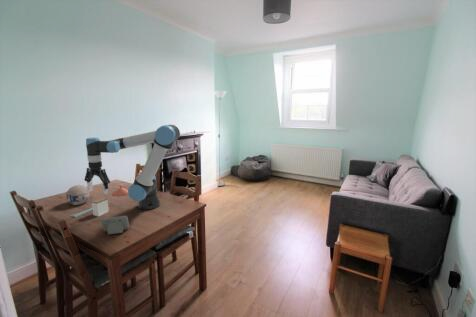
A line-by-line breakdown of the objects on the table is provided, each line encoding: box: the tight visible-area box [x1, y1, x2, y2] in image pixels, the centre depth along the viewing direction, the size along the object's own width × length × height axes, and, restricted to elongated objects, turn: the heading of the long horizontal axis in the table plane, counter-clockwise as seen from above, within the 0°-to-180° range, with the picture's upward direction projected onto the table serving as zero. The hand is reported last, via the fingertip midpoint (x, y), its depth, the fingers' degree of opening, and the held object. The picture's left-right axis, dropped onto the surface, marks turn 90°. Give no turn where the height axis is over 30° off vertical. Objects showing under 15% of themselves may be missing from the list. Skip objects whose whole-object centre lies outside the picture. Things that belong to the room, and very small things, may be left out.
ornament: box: [65, 184, 91, 206], centre depth 174 cm, size 15×15×15 cm
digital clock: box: [100, 215, 130, 235], centre depth 135 cm, size 14×8×9 cm, turn 95°
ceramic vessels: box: [111, 168, 143, 197], centre depth 199 cm, size 35×21×19 cm, turn 134°
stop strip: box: [72, 207, 93, 218], centre depth 159 cm, size 2×13×2 cm, turn 161°
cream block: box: [91, 197, 110, 217], centre depth 158 cm, size 5×8×10 cm, turn 160°
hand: (98, 192), depth 156 cm, fingers open, 13 cm apart
